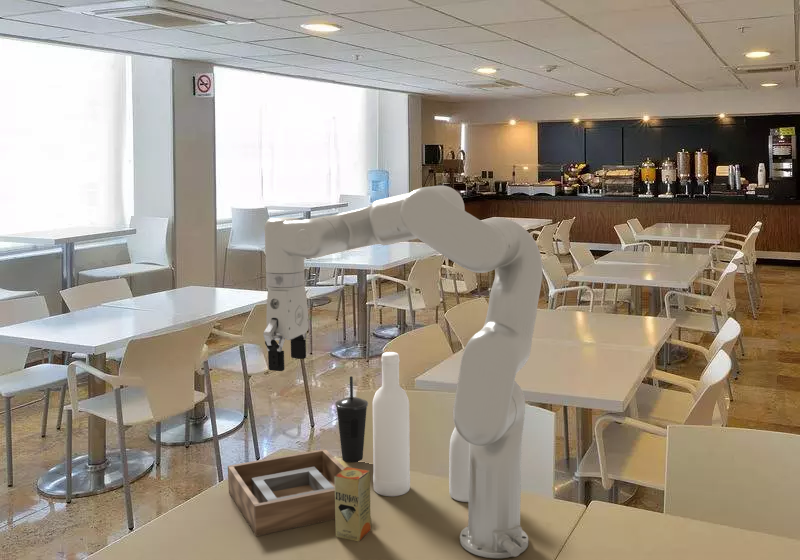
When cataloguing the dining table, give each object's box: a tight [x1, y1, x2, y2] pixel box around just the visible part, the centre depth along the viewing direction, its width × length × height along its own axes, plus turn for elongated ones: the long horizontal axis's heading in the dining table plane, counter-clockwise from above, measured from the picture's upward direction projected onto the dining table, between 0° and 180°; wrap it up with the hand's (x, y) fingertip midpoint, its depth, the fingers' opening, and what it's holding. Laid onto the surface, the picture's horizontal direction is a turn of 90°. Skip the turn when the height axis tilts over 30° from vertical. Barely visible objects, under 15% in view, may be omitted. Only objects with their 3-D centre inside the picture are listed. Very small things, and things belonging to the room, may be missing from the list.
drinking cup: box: [335, 376, 369, 463], centre depth 187 cm, size 8×8×20 cm
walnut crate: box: [227, 448, 346, 537], centre depth 164 cm, size 22×22×6 cm
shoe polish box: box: [334, 466, 372, 542], centre depth 150 cm, size 5×5×12 cm
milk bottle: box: [448, 426, 469, 503], centre depth 166 cm, size 8×8×20 cm
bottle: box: [372, 351, 411, 497], centre depth 168 cm, size 8×8×30 cm
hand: (287, 364), depth 159 cm, fingers open, 9 cm apart
